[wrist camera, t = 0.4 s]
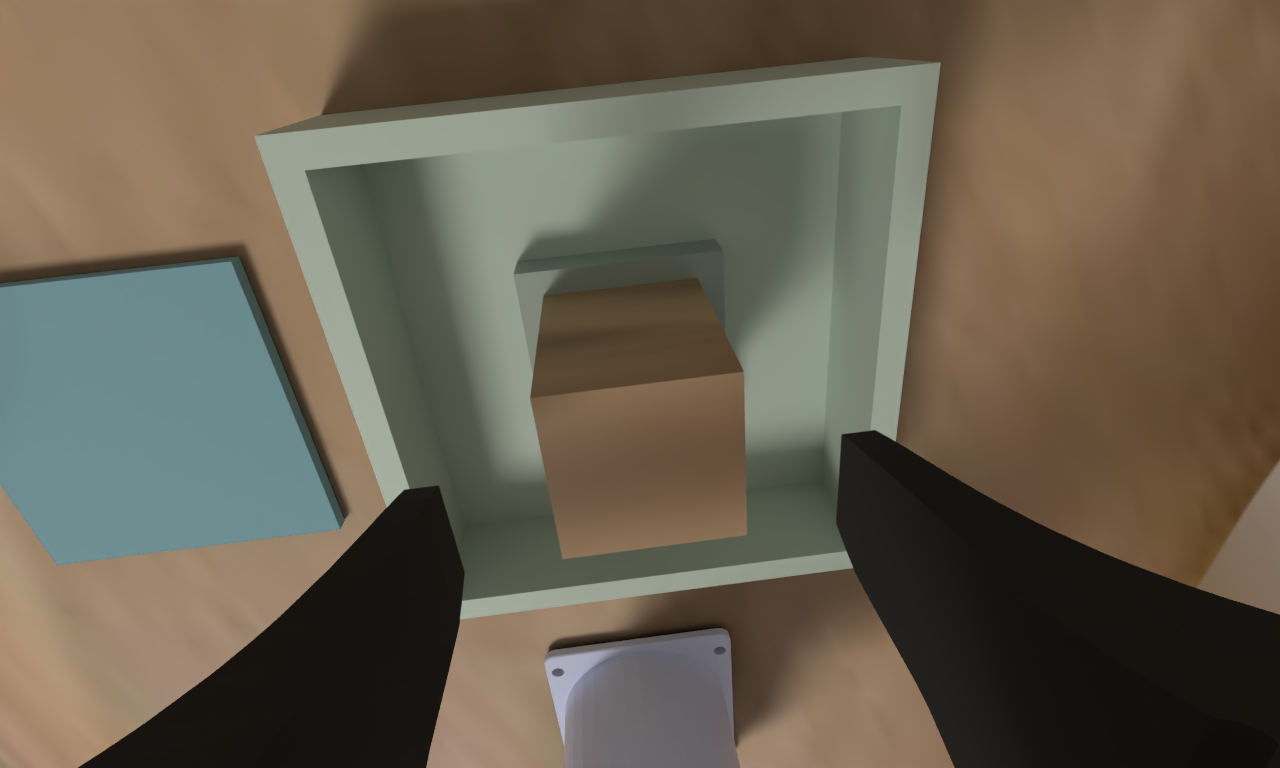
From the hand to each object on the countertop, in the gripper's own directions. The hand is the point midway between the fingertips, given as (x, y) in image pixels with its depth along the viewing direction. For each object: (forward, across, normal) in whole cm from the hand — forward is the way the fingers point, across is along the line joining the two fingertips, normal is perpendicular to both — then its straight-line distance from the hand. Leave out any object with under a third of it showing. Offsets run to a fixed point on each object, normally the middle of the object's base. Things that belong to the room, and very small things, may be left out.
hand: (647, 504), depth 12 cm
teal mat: (+10, +16, +2) cm, 19 cm away
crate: (+11, 0, +1) cm, 11 cm away
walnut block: (+9, 0, +1) cm, 9 cm away
